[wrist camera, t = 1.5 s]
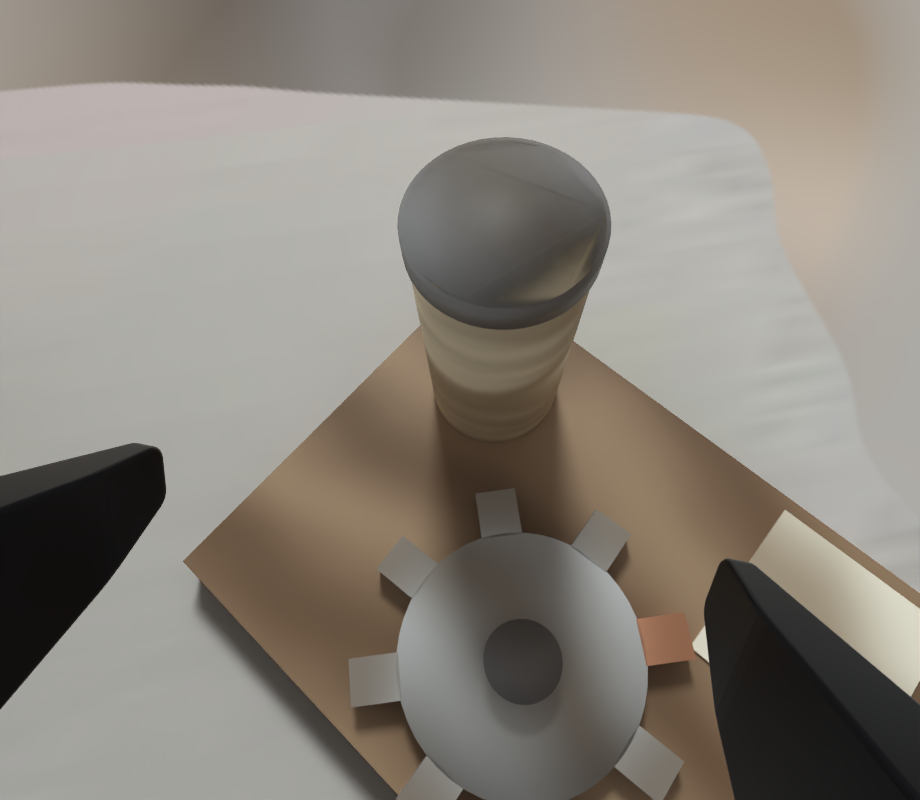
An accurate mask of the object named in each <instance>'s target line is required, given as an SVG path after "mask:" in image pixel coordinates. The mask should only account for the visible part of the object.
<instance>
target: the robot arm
mask: <svg viewBox="0 0 920 800" xmlns="http://www.w3.org/2000/svg"><path fill="white" fill-rule="evenodd" d="M165 495H166V483H165V474H164V464H163V456H162V453H161V451H160V450H159V449H158V448H157V447H154V446H149V445H144V444H139V443H131V444H127V445H123V446H119V447H115V448H111V449H107V450H103V451H99V452H95V453H91V454H87V455H83V456H79V457H75V458H71V459H67V460H63V461H59V462H55V463H51V464H47V465H43V466H39V467H35V468H31V469H27V470H23V471H19V472H15V473H11V474H7V475H3V476H0V709H1V708H2V707H3V706H4V705H5V703H6V702H7V701H8V700H9V699H10V697H11V696H12V695H13V694H14V693H15V692H16V690H17V689H18V688H19V687H20V686H21V684H22V683H23V682H24V681H25V680H26V679H27V677H28V676H29V675H30V674H31V673H32V671H33V670H34V669H35V668H36V667H37V666H38V664H39V663H40V662H41V661H42V660H43V658H44V657H45V656H46V655H47V654H48V653H49V651H50V650H51V649H52V648H53V647H54V645H55V644H56V643H57V642H58V641H59V640H60V638H61V637H62V636H63V635H64V634H65V632H66V631H67V630H68V629H69V628H70V627H71V625H72V624H73V623H74V622H75V621H76V620H77V618H78V617H79V616H80V615H81V614H82V612H83V611H84V610H85V609H86V608H87V607H88V605H89V604H90V603H91V602H92V601H93V599H94V598H95V597H96V596H97V595H98V594H99V592H100V591H101V590H102V589H103V587H104V586H105V585H106V584H107V582H108V581H109V580H110V579H111V577H112V576H113V575H114V573H115V572H116V570H117V569H118V568H119V566H120V565H121V563H122V562H123V561H124V559H125V558H126V556H127V555H128V553H129V552H130V550H131V549H132V548H133V546H134V545H135V543H136V542H137V540H138V539H139V537H140V536H141V534H142V533H143V532H144V530H145V529H146V527H147V526H148V524H149V523H150V521H151V520H152V519H153V517H154V516H155V514H156V513H157V511H158V510H159V508H160V507H161V505H162V504H163V501H164V499H165ZM704 621H705V630H706V639H707V648H708V657H709V666H710V675H711V684H712V693H713V700H714V708H715V714H716V719H717V724H718V729H719V733H720V738H721V742H722V746H723V751H724V755H725V760H726V764H727V768H728V773H729V777H730V781H731V786H732V790H733V794H734V799H735V800H920V704H919V703H918V702H916V701H915V700H914V699H913V698H912V697H910V696H909V695H908V694H907V693H906V692H905V691H903V690H902V689H901V688H900V687H899V686H897V685H896V684H895V683H894V682H893V681H892V680H890V679H889V678H888V677H887V676H886V675H884V674H883V673H882V672H881V671H880V670H879V669H877V668H876V667H875V666H874V665H873V664H871V663H870V662H869V661H868V660H867V659H866V658H864V657H863V656H862V655H861V654H860V653H858V652H857V651H856V650H855V649H854V648H853V647H851V646H850V645H849V644H848V643H847V642H845V641H844V640H843V639H842V638H841V637H839V636H838V635H837V634H836V633H835V632H834V631H832V630H831V629H830V628H829V627H828V626H826V625H825V624H824V623H823V622H822V621H821V620H819V619H818V618H817V617H816V616H815V615H813V614H812V613H811V612H810V611H809V610H808V609H806V608H805V607H804V606H803V605H802V604H800V603H799V602H798V601H797V600H796V599H795V598H793V597H792V596H791V595H790V594H789V593H787V592H786V591H785V590H784V589H783V588H782V587H780V586H779V585H778V584H777V583H776V582H774V581H773V580H772V579H771V578H770V577H769V576H767V575H766V574H765V573H764V572H763V571H761V570H760V569H759V568H758V567H757V566H755V565H754V564H752V563H750V562H745V561H740V560H735V559H729V558H726V559H724V560H722V561H721V562H720V564H719V566H718V568H717V571H716V573H715V576H714V579H713V581H712V584H711V587H710V589H709V592H708V595H707V597H706V600H705V605H704Z"/></svg>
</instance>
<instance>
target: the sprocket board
mask: <svg viewBox="0 0 920 800" xmlns="http://www.w3.org/2000/svg"><path fill="white" fill-rule="evenodd" d="M726 558H729V559H735V560H740V561H745V562H750V563H752V564H754V565H755V566H757V567H758V568H759V569H760V570H761V571H763V572H764V573H765V574H766V575H767V576H769V577H770V578H771V579H772V580H773V581H774V582H776V583H777V584H778V585H779V586H780V587H782V588H783V589H784V590H785V591H786V592H787V593H789V594H790V595H791V596H792V597H793V598H795V599H796V600H797V601H798V602H799V603H800V604H802V605H803V606H804V607H805V608H806V609H808V610H809V611H810V612H811V613H812V614H813V615H815V616H816V617H817V618H818V619H819V620H821V621H822V622H823V623H824V624H825V625H826V626H828V627H829V628H830V629H831V630H832V631H834V632H835V633H836V634H837V635H838V636H839V637H841V638H842V639H843V640H844V641H845V642H847V643H848V644H849V645H850V646H851V647H853V648H854V649H855V650H856V651H857V652H858V653H860V654H861V655H862V656H863V657H864V658H866V659H867V660H868V661H869V662H870V663H871V664H873V665H874V666H875V667H876V668H877V669H879V670H880V671H881V672H882V673H883V674H884V675H886V676H887V677H888V678H889V679H890V680H892V681H893V682H894V683H895V684H896V685H897V686H899V687H900V688H901V689H902V690H903V691H905V692H906V693H907V694H908V695H909V696H910V697H912V698H913V699H914V700H915V701H916V702H918V703H919V704H920V593H918V592H917V591H916V590H914V589H913V588H912V587H910V586H909V585H907V584H906V583H905V582H903V581H902V580H901V579H899V578H898V577H896V576H895V575H894V574H892V573H891V572H890V571H888V570H887V569H885V568H884V567H883V566H881V565H880V564H879V563H877V562H876V561H874V560H873V559H872V558H870V557H869V556H868V555H866V554H865V553H863V552H862V551H861V550H859V549H858V548H857V547H855V546H854V545H852V544H851V543H850V542H848V541H847V540H846V539H844V538H843V537H841V536H840V535H839V534H837V533H836V532H835V531H833V530H832V529H830V528H829V527H828V526H826V525H825V524H824V523H822V522H821V521H819V520H818V519H817V518H815V517H814V516H813V515H811V514H810V513H808V512H807V511H806V510H804V509H803V508H802V507H800V506H799V505H797V504H796V503H795V502H793V501H792V500H791V499H789V498H788V497H787V496H785V495H784V494H782V493H781V492H780V491H778V490H777V489H776V488H774V487H773V486H771V485H770V484H769V483H767V482H766V481H765V480H763V479H762V478H760V477H759V476H758V475H756V474H755V473H754V472H752V471H751V470H749V469H748V468H747V467H745V466H744V465H743V464H741V463H740V462H738V461H737V460H736V459H734V458H733V457H732V456H730V455H729V454H727V453H726V452H725V451H723V450H722V449H721V448H719V447H718V446H716V445H715V444H714V443H712V442H711V441H710V440H708V439H707V438H705V437H704V436H703V435H701V434H700V433H699V432H697V431H696V430H694V429H693V428H692V427H690V426H689V425H688V424H686V423H685V422H683V421H682V420H681V419H679V418H678V417H677V416H675V415H674V414H672V413H671V412H670V411H668V410H667V409H666V408H664V407H663V406H661V405H660V404H659V403H657V402H656V401H655V400H653V399H652V398H650V397H649V396H648V395H646V394H645V393H644V392H642V391H641V390H639V389H638V388H637V387H635V386H634V385H633V384H631V383H630V382H628V381H627V380H626V379H624V378H623V377H622V376H620V375H619V374H618V373H616V372H615V371H613V370H612V369H611V368H609V367H608V366H607V365H605V364H604V363H602V362H601V361H600V360H598V359H597V358H596V357H594V356H593V355H591V354H590V353H589V352H587V351H586V350H585V349H583V348H582V347H580V346H579V345H578V344H576V343H575V342H574V341H573V343H572V346H571V349H570V352H569V355H568V358H567V361H566V365H565V368H564V371H563V374H562V377H561V380H560V383H559V386H558V390H557V393H556V396H555V399H554V402H553V405H552V407H551V410H550V411H549V413H548V415H547V416H546V418H545V419H544V420H543V422H542V423H541V424H540V425H539V426H538V427H537V428H535V429H534V430H533V431H531V432H530V433H528V434H526V435H525V436H523V437H520V438H518V439H515V440H511V441H507V442H483V441H479V440H475V439H473V438H470V437H468V436H466V435H464V434H462V433H460V432H459V431H457V430H456V429H455V428H453V427H452V426H451V425H450V424H449V423H448V422H447V420H446V419H445V418H444V417H443V415H442V413H441V412H440V410H439V408H438V405H437V403H436V399H435V396H434V391H433V386H432V380H431V375H430V370H429V365H428V360H427V355H426V350H425V345H424V340H423V335H422V330H421V325H420V326H419V327H418V328H417V329H416V330H415V331H414V332H413V333H412V334H411V335H410V336H409V337H408V338H407V339H406V340H405V341H404V342H403V343H402V344H401V345H400V346H399V347H398V348H397V349H396V350H395V351H394V352H393V353H392V354H391V355H390V356H389V357H388V358H387V359H386V360H385V361H384V362H383V363H382V364H381V365H380V366H379V367H378V368H377V369H376V370H375V371H374V372H373V373H372V374H371V375H370V376H369V377H368V378H367V379H366V380H365V381H364V382H363V383H362V384H361V385H360V386H359V387H358V388H357V389H356V390H355V391H354V392H353V393H352V394H351V395H350V396H349V397H348V398H347V399H346V400H345V401H344V402H343V403H342V404H341V405H340V406H339V407H338V408H337V409H336V410H335V411H334V412H333V413H332V414H331V415H330V416H329V417H328V418H327V419H326V420H325V421H324V422H323V423H322V424H321V425H320V426H319V427H318V428H317V429H316V430H315V431H314V432H313V433H312V434H311V435H310V436H309V437H308V438H307V439H306V440H305V441H304V442H303V443H302V444H300V445H299V446H298V447H297V448H296V449H295V450H294V451H293V452H292V453H291V454H290V455H289V456H288V457H287V458H286V459H285V460H284V461H283V462H282V463H281V464H280V465H279V466H278V467H277V468H276V469H275V470H274V471H273V472H272V473H271V474H270V475H269V476H268V477H267V478H266V479H265V480H264V481H263V482H262V483H261V484H260V485H259V486H258V487H257V488H256V489H255V490H254V491H253V492H252V493H251V494H250V495H249V496H248V497H247V498H246V499H245V500H244V501H243V502H242V503H241V504H240V505H239V506H238V507H237V508H236V509H235V510H234V511H233V512H232V513H231V514H230V515H229V516H228V517H227V518H226V519H225V520H224V521H223V522H222V523H221V524H220V525H219V526H218V527H217V528H216V529H215V530H214V531H213V532H212V533H211V534H210V535H209V536H208V537H207V538H206V539H205V540H204V541H203V542H202V543H201V544H200V545H199V546H198V547H197V548H196V549H195V550H194V551H193V552H192V553H191V554H190V555H189V556H188V557H187V558H186V559H185V560H184V561H183V562H184V563H185V564H186V565H187V566H188V567H189V569H190V570H191V571H192V572H193V573H194V574H195V575H196V576H197V577H198V578H199V579H200V580H201V582H202V583H203V584H204V585H205V586H206V587H207V588H208V589H209V590H210V591H211V592H212V594H213V595H214V596H215V597H216V598H217V599H218V600H219V601H220V602H221V603H222V604H223V605H224V607H225V608H226V609H227V610H228V611H229V612H230V613H231V614H232V615H233V616H234V617H235V619H236V620H237V621H238V622H239V623H240V624H241V625H242V626H243V627H244V628H245V629H246V630H247V632H248V633H249V634H250V635H251V636H252V637H253V638H254V639H255V640H256V641H257V642H258V644H259V645H260V646H261V647H262V648H263V649H264V650H265V651H266V652H267V653H268V654H269V655H270V657H271V658H272V659H273V660H274V661H275V662H276V663H277V664H278V665H279V666H280V667H281V668H282V670H283V671H284V672H285V673H286V674H287V675H288V676H289V677H290V678H291V679H292V680H293V682H294V683H295V684H296V685H297V686H298V687H299V688H300V689H301V690H302V691H303V692H304V693H305V695H306V696H307V697H308V698H309V699H310V700H311V701H312V702H313V703H314V704H315V705H316V707H317V708H318V709H319V710H320V711H321V712H322V713H323V714H324V715H325V716H326V717H327V718H328V720H329V721H330V722H331V723H332V724H333V725H334V726H335V727H336V728H337V729H338V730H339V732H340V733H341V734H342V735H343V736H344V737H345V738H346V739H347V740H348V741H349V742H350V743H351V745H352V746H353V747H354V748H355V749H356V750H357V751H358V752H359V753H360V754H361V755H362V756H363V758H364V759H365V760H366V761H367V762H368V763H369V764H370V765H371V766H372V767H373V768H374V770H375V771H376V772H377V773H378V774H379V775H380V776H381V777H382V778H383V779H384V780H385V781H386V783H387V784H388V785H389V786H390V787H391V788H392V789H393V790H394V791H395V792H396V793H397V795H398V796H397V798H396V800H735V799H734V794H733V790H732V786H731V781H730V777H729V773H728V768H727V764H726V760H725V755H724V751H723V746H722V742H721V738H720V733H719V729H718V724H717V719H716V714H715V708H714V700H713V693H712V684H711V675H710V666H709V657H708V648H707V639H706V630H705V621H704V605H705V600H706V597H707V595H708V592H709V589H710V587H711V584H712V581H713V579H714V576H715V573H716V571H717V568H718V566H719V564H720V562H721V561H722V560H724V559H726Z"/></svg>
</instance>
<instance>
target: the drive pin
mask: <svg viewBox="0 0 920 800" xmlns="http://www.w3.org/2000/svg"><path fill="white" fill-rule="evenodd" d="M398 235H399V242H400V246H401V251H402V256H403V260H404V264H405V267H406V270H407V273H408V275H409V277H410V279H411V281H412V285H413V290H414V295H415V300H416V305H417V310H418V315H419V320H420V325H421V330H422V335H423V340H424V345H425V350H426V355H427V360H428V365H429V370H430V375H431V380H432V386H433V391H434V396H435V399H436V403H437V405H438V408H439V410H440V412H441V413H442V415H443V417H444V418H445V419H446V420H447V422H448V423H449V424H450V425H451V426H452V427H453V428H455V429H456V430H457V431H459V432H460V433H462V434H464V435H466V436H468V437H470V438H473V439H475V440H479V441H483V442H507V441H511V440H515V439H518V438H520V437H523V436H525V435H526V434H528V433H530V432H531V431H533V430H534V429H535V428H537V427H538V426H539V425H540V424H541V423H542V422H543V420H544V419H545V418H546V416H547V415H548V413H549V411H550V410H551V407H552V405H553V402H554V399H555V396H556V393H557V390H558V386H559V383H560V380H561V377H562V374H563V371H564V368H565V365H566V361H567V358H568V355H569V352H570V349H571V346H572V343H573V340H574V337H575V333H576V330H577V327H578V324H579V321H580V318H581V315H582V312H583V308H584V305H585V302H586V299H587V296H588V293H589V290H590V288H591V287H592V285H593V283H594V282H595V280H596V278H597V276H598V274H599V271H600V269H601V266H602V263H603V260H604V257H605V254H606V251H607V248H608V244H609V240H610V235H611V217H610V210H609V206H608V203H607V200H606V197H605V195H604V193H603V191H602V189H601V187H600V186H599V184H598V182H597V181H596V179H595V178H594V177H593V176H592V175H591V173H590V172H589V171H588V170H587V169H586V168H585V167H584V166H582V165H581V164H580V163H579V162H578V161H576V160H575V159H574V158H572V157H571V156H569V155H568V154H566V153H564V152H562V151H560V150H558V149H556V148H554V147H551V146H549V145H546V144H543V143H540V142H536V141H532V140H527V139H521V138H509V137H503V138H488V139H481V140H477V141H472V142H468V143H465V144H463V145H460V146H457V147H455V148H453V149H450V150H448V151H446V152H444V153H443V154H441V155H440V156H438V157H436V158H435V159H433V160H432V161H431V162H430V163H428V164H427V165H426V166H425V167H424V168H423V169H422V170H421V171H420V172H419V173H418V174H417V175H416V177H415V178H414V179H413V181H412V182H411V183H410V185H409V187H408V188H407V190H406V192H405V194H404V197H403V199H402V202H401V205H400V209H399V214H398Z"/></svg>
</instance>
